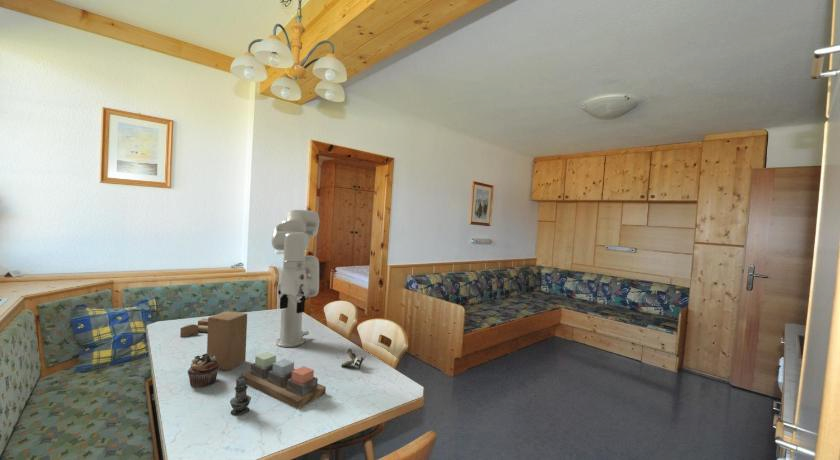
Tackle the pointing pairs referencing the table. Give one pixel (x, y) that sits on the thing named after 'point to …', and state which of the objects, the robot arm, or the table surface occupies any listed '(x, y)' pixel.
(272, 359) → the sage key
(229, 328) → the wooden block
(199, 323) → the wooden block set
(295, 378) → the red key
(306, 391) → the console
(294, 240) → the robot arm
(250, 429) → the table surface
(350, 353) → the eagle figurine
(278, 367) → the slate key
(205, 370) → the cupcake
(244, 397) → the grey tall stone piece
